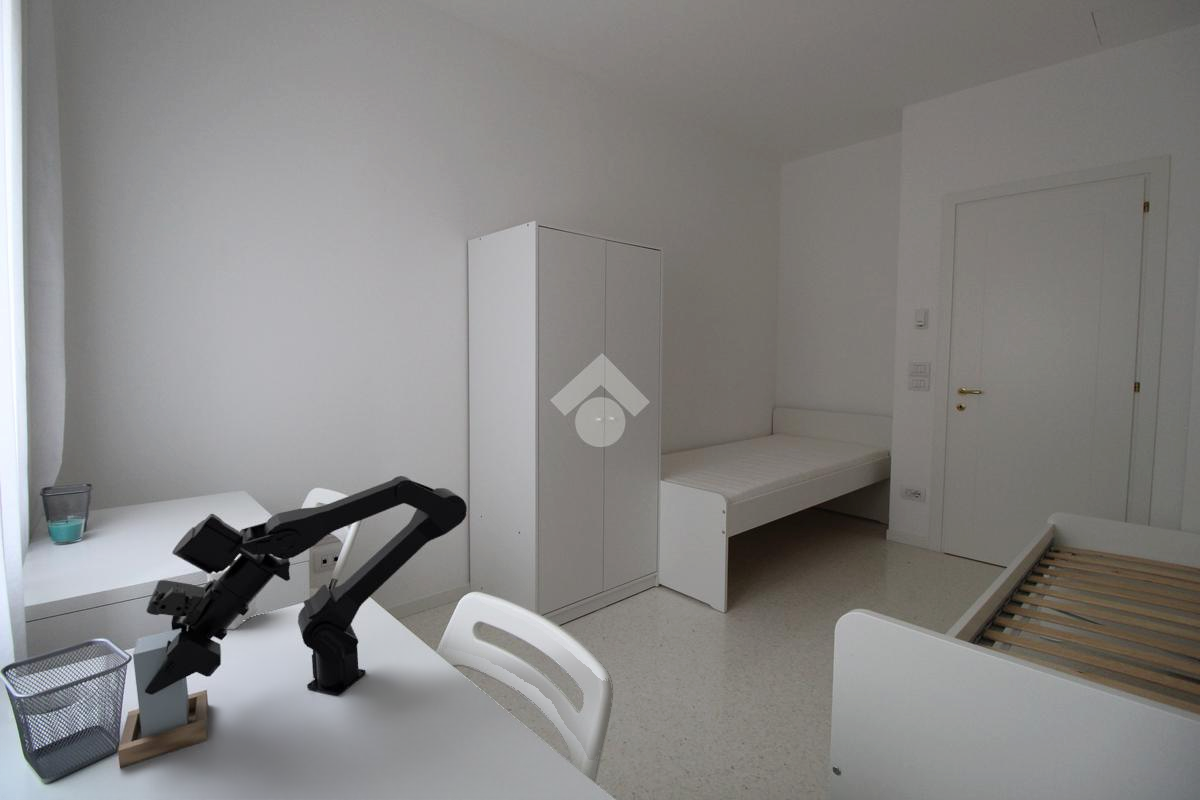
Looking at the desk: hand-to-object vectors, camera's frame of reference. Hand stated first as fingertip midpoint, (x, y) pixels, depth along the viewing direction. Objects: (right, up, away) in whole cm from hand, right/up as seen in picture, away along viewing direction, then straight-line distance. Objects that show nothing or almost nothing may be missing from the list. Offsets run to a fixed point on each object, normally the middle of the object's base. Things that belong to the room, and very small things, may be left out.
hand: (150, 683), depth 80 cm
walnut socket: (+1, -8, +2) cm, 8 cm away
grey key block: (+1, -6, +2) cm, 7 cm away
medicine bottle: (-11, -5, +34) cm, 37 cm away
